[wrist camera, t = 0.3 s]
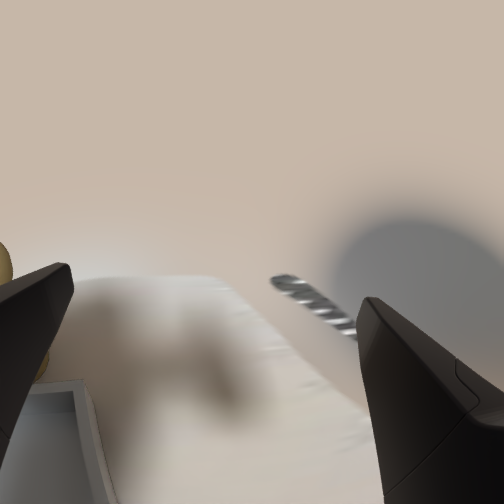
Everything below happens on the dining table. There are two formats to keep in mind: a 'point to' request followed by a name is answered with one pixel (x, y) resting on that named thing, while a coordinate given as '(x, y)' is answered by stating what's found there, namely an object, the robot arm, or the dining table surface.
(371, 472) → the dining table surface
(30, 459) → the tray
